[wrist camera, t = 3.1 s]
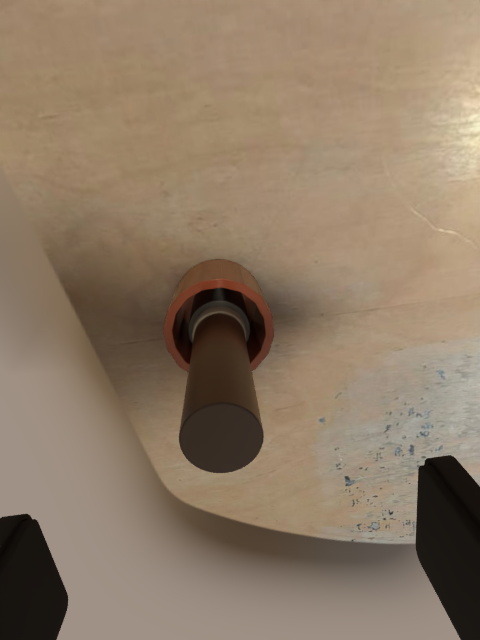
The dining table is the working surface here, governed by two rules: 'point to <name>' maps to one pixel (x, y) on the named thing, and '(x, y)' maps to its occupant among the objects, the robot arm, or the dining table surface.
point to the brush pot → (211, 278)
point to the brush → (220, 386)
